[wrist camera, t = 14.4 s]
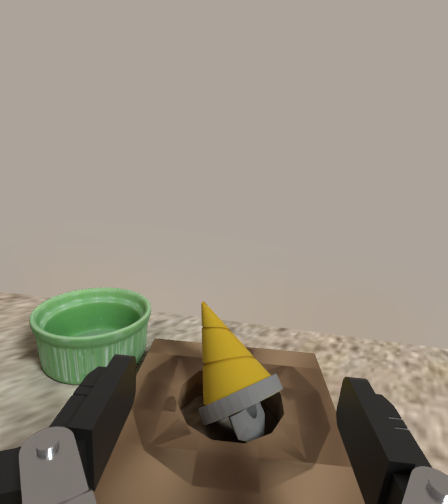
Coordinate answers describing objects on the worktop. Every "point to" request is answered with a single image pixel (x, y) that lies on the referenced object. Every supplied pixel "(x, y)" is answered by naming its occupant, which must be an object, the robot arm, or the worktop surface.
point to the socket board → (228, 453)
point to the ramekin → (89, 330)
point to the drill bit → (233, 380)
